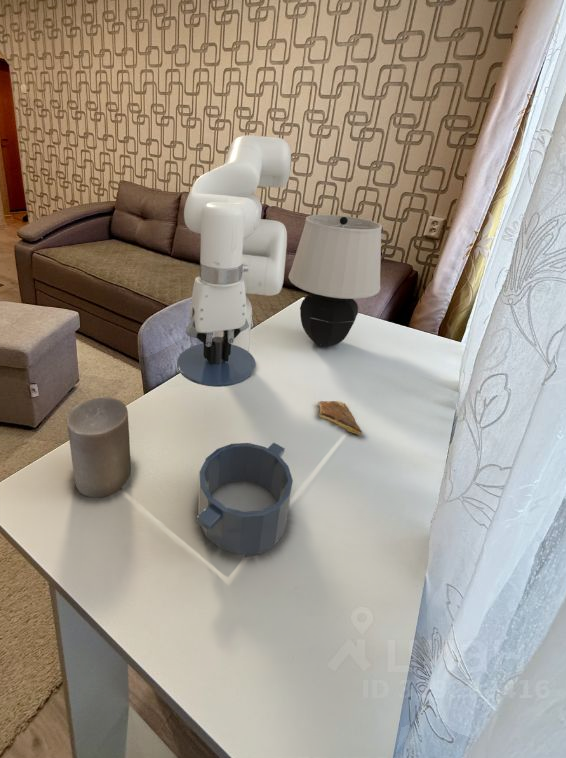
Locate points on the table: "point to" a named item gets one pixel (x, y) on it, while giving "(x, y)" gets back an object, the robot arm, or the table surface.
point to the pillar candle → (99, 446)
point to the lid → (216, 365)
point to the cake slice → (339, 415)
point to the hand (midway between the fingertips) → (216, 358)
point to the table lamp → (335, 273)
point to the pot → (234, 526)
